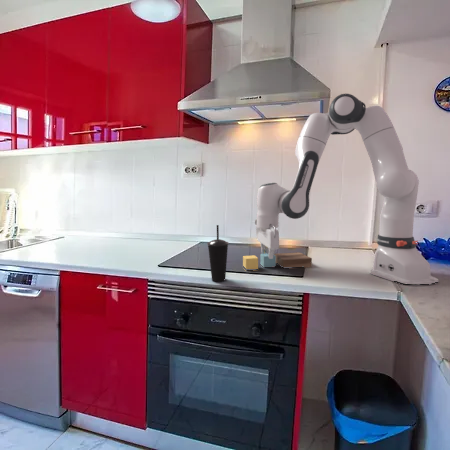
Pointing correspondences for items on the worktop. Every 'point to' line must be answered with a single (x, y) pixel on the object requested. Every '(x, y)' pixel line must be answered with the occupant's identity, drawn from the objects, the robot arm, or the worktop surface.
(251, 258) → the mustard cube
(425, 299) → the worktop surface
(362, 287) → the worktop surface
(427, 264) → the robot arm
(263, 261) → the teal cube
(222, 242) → the drinking cup
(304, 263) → the walnut base
